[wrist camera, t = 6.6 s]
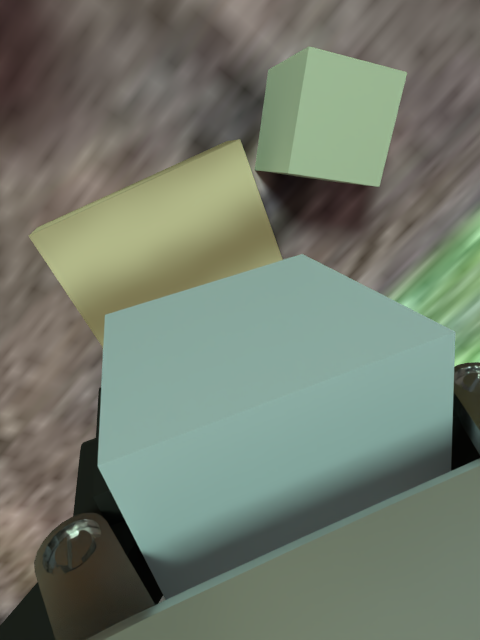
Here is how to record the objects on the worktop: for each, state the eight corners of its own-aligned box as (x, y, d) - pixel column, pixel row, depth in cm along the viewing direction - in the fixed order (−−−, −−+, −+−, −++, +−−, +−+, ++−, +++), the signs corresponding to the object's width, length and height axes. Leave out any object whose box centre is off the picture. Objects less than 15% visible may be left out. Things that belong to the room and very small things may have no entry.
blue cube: (324, 409, 14) (448, 554, 9) (167, 470, 13) (204, 674, 8) (302, 253, 12) (455, 331, 7) (104, 314, 11) (97, 465, 6)
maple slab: (285, 305, 27) (304, 321, 24) (139, 380, 26) (141, 406, 23) (224, 141, 22) (240, 139, 19) (39, 225, 21) (28, 235, 18)
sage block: (330, 181, 24) (379, 186, 20) (254, 170, 23) (288, 173, 18) (349, 89, 22) (407, 72, 18) (268, 70, 21) (308, 46, 16)
